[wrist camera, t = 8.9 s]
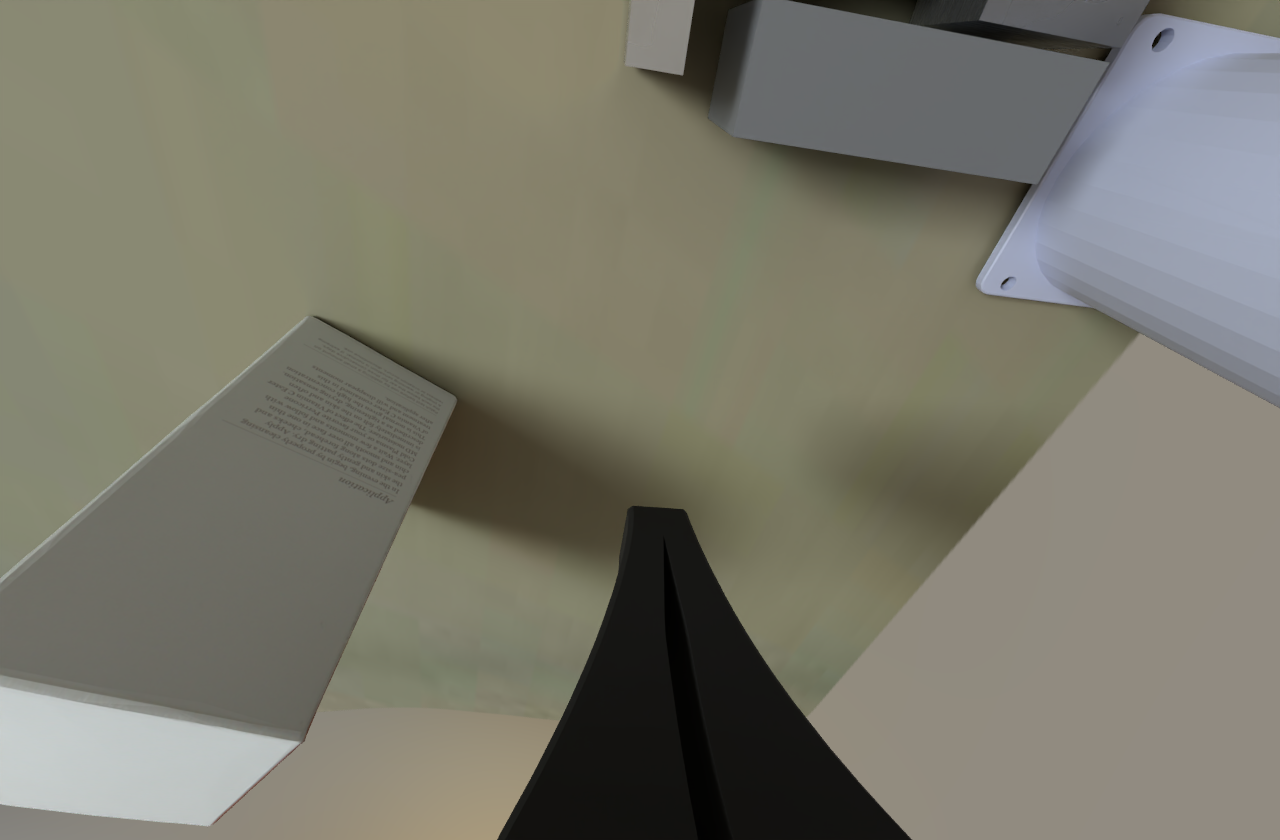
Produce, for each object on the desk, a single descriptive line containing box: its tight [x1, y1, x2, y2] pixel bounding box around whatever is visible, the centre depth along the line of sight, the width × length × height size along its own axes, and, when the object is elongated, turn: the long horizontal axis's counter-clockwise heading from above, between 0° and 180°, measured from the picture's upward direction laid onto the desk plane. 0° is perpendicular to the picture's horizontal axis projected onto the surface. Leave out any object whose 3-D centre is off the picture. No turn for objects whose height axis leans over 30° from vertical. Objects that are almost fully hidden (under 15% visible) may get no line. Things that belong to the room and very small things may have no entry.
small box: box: [0, 316, 457, 826], centre depth 16 cm, size 8×6×13 cm
